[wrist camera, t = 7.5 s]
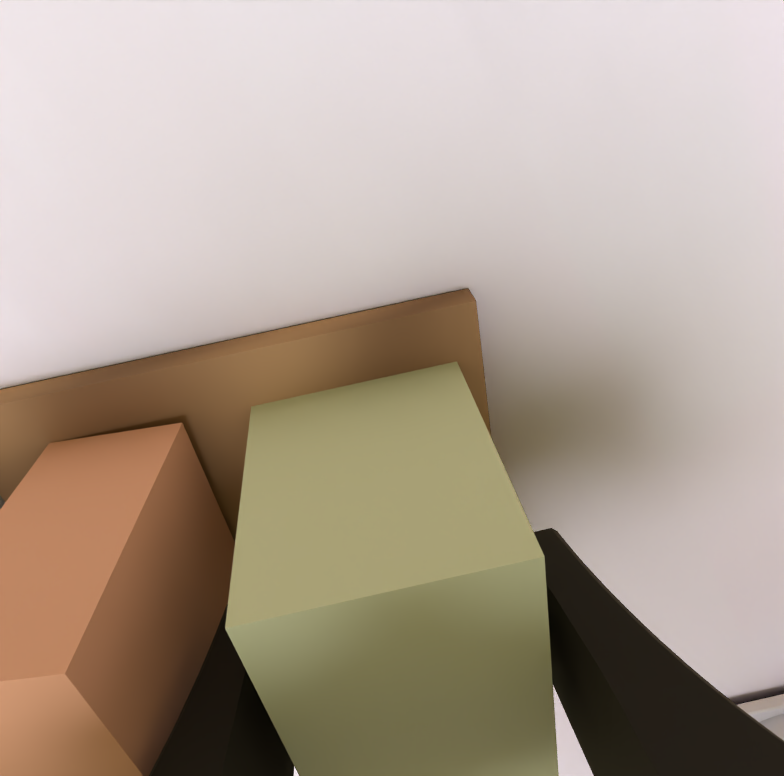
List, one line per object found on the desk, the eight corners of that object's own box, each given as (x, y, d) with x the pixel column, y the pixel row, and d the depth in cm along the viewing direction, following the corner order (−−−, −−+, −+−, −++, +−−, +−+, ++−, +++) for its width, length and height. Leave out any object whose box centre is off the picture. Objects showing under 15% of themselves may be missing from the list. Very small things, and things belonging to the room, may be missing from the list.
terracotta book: (182, 422, 11) (64, 673, 7) (283, 652, 15) (244, 907, 11) (49, 442, 12) (-141, 697, 7) (180, 665, 15) (103, 919, 11)
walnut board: (468, 288, 12) (476, 301, 11) (504, 598, 17) (511, 616, 16) (-376, 470, 12) (-407, 492, 11) (-92, 732, 16) (-104, 756, 16)
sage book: (456, 361, 12) (544, 556, 8) (489, 599, 16) (560, 820, 11) (251, 406, 12) (225, 628, 8) (333, 635, 16) (347, 870, 11)
